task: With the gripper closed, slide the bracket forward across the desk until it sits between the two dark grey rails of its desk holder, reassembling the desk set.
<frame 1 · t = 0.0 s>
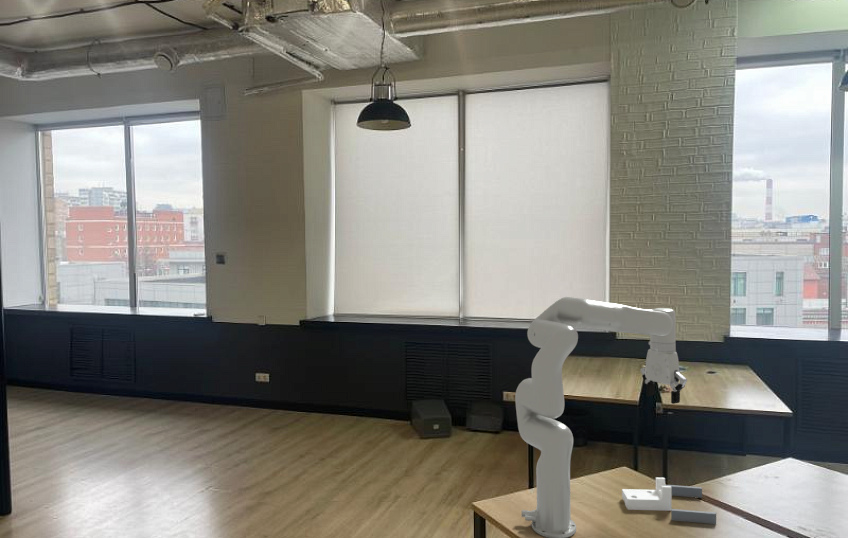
hand: (662, 399, 185), 31 cm above the table, tool pointing down, fingers open, 9 cm apart
bracket: (646, 506, 179), on the table
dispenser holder: (690, 508, 176), on the table
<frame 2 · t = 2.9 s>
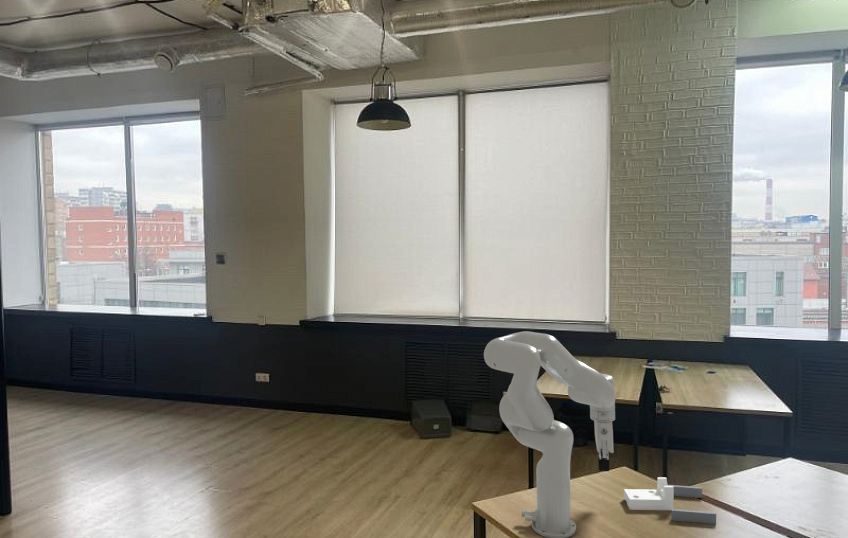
hand: (604, 469, 182), 10 cm above the table, tool pointing down, fingers closed
nothing on the table moved.
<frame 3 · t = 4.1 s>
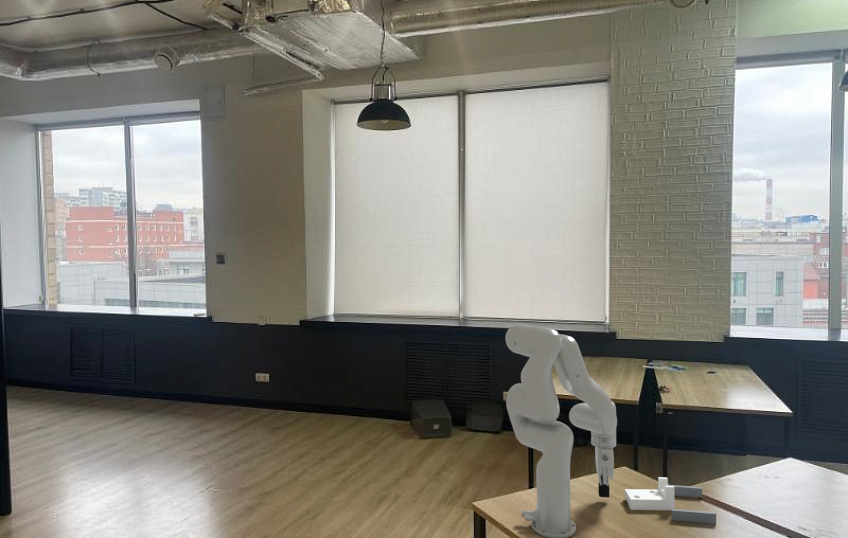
hand: (603, 496, 182), 2 cm above the table, tool pointing down, fingers closed
nothing on the table moved.
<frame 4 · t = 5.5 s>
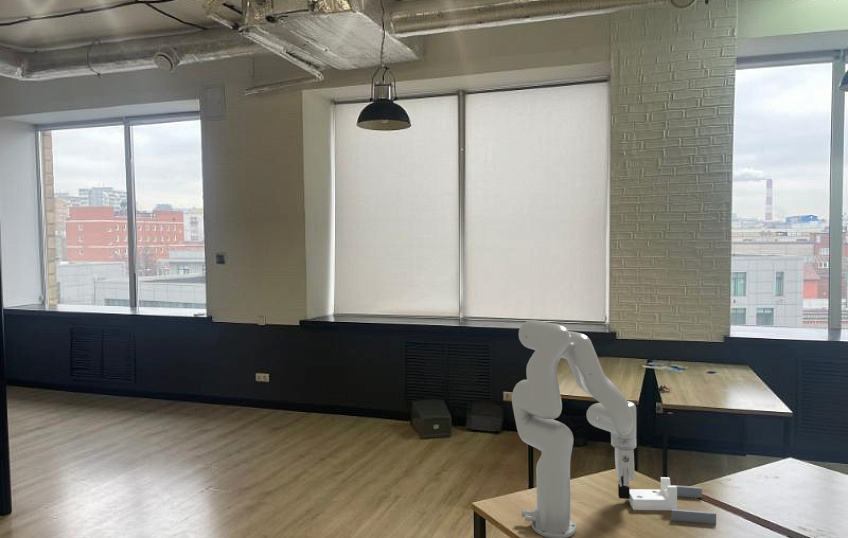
hand: (623, 497, 181), 2 cm above the table, tool pointing down, fingers closed
bracket: (651, 506, 179), on the table, touching gripper
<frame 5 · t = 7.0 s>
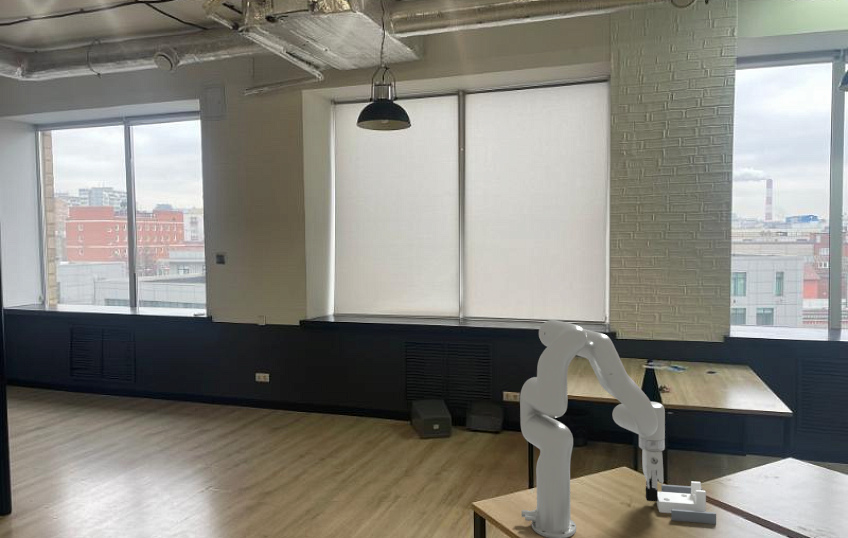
hand: (651, 499, 179), 2 cm above the table, tool pointing down, fingers closed
bracket: (679, 509, 176), on the table, touching gripper
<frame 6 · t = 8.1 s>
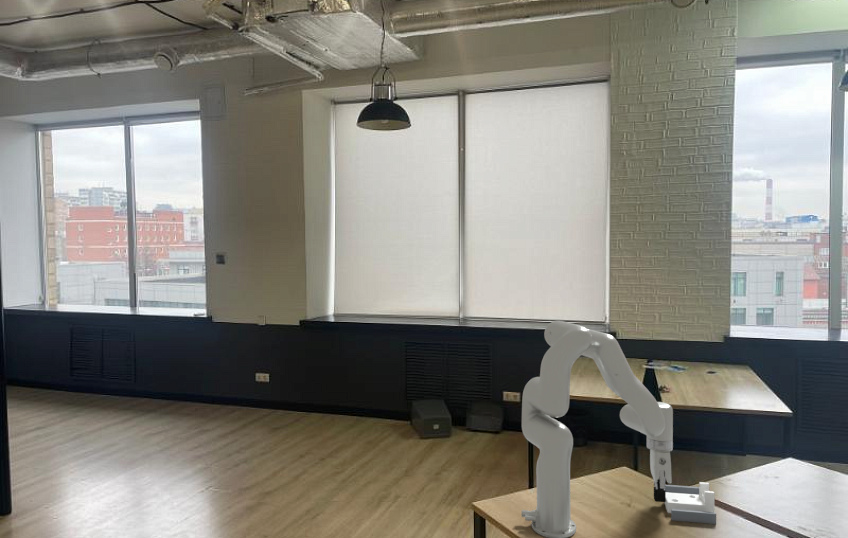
hand: (659, 500, 178), 2 cm above the table, tool pointing down, fingers closed
bracket: (688, 510, 176), on the table
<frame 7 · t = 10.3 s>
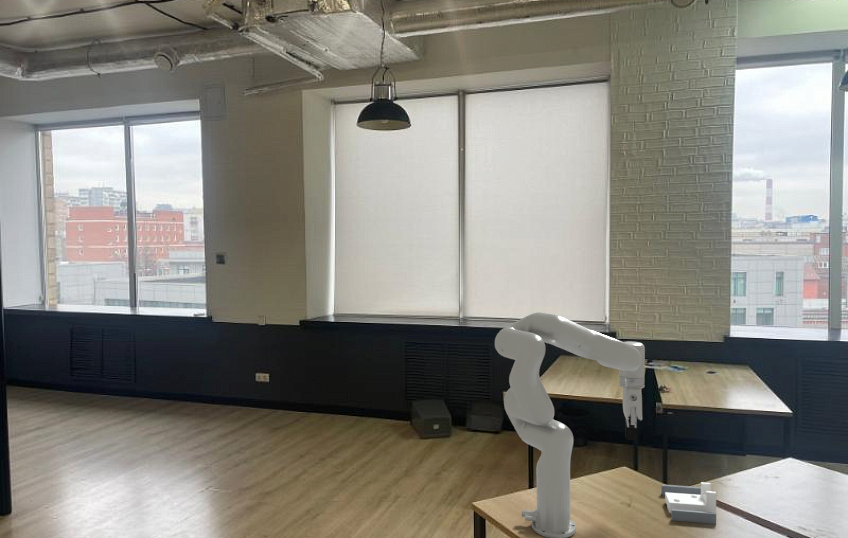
hand: (630, 438, 180), 20 cm above the table, tool pointing down, fingers closed
nothing on the table moved.
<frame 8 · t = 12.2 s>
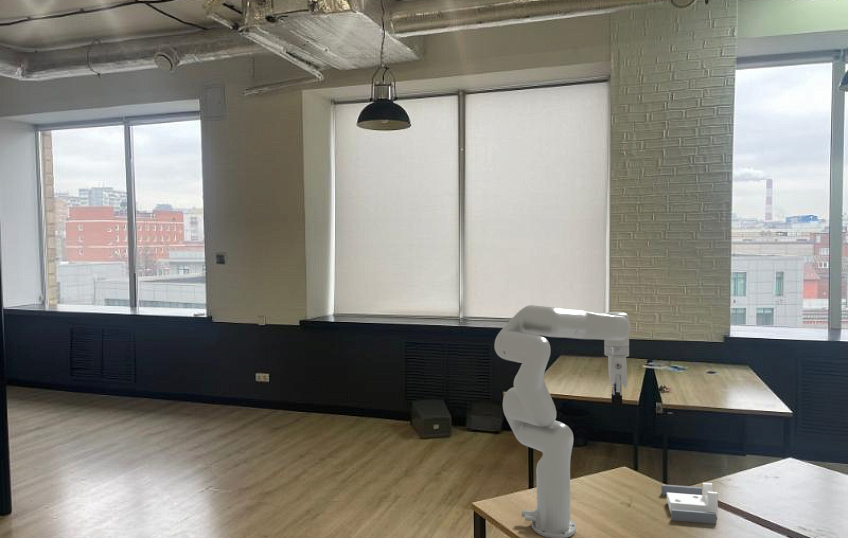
hand: (616, 406, 185), 29 cm above the table, tool pointing down, fingers closed
nothing on the table moved.
at the end: bracket inside the target area on the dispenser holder (1.6 cm from its centre), point -0.5 cm above the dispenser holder's base; bracket tilted 0°; bracket moved 13.1 cm from its start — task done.
